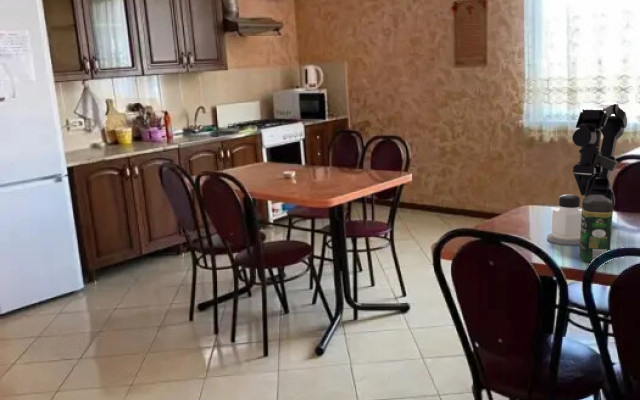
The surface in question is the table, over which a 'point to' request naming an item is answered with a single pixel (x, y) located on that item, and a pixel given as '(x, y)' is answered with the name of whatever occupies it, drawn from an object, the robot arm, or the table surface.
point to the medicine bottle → (567, 216)
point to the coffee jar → (595, 226)
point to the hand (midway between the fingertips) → (585, 194)
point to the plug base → (569, 243)
